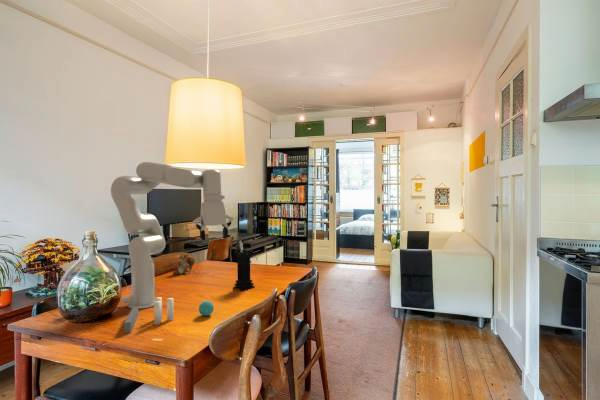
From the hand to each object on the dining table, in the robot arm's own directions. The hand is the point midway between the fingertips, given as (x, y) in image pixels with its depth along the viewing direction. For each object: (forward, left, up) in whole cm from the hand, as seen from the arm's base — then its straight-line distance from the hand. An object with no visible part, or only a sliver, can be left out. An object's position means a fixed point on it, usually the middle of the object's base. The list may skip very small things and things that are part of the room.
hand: (214, 238), depth 141 cm
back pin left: (-22, -1, -32) cm, 39 cm away
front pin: (-18, -3, -32) cm, 36 cm away
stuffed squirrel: (-14, +82, -32) cm, 89 cm away
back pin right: (-22, -6, -32) cm, 39 cm away
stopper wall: (-32, -3, -32) cm, 45 cm away
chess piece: (+17, +33, -32) cm, 49 cm away
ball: (-4, -3, -29) cm, 29 cm away
